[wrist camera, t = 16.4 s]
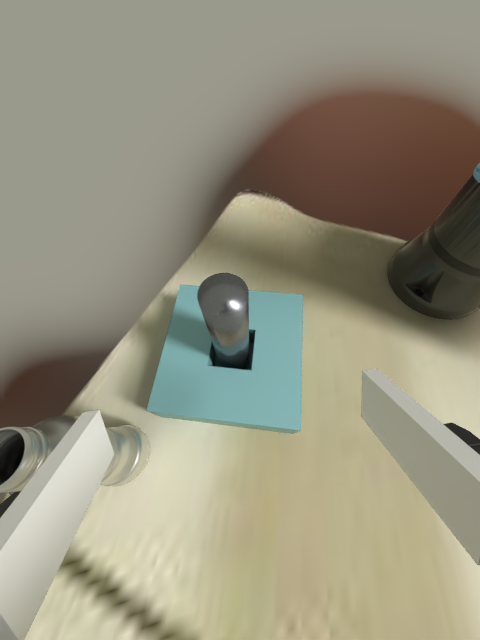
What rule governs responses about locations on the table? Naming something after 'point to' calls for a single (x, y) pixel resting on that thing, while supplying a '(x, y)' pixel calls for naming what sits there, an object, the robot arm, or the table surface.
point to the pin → (227, 318)
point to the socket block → (227, 383)
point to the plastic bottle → (40, 440)
